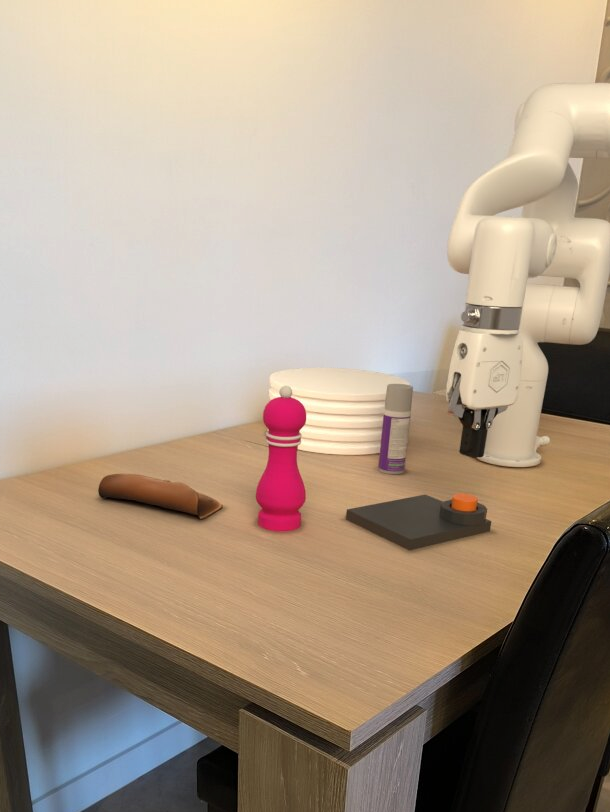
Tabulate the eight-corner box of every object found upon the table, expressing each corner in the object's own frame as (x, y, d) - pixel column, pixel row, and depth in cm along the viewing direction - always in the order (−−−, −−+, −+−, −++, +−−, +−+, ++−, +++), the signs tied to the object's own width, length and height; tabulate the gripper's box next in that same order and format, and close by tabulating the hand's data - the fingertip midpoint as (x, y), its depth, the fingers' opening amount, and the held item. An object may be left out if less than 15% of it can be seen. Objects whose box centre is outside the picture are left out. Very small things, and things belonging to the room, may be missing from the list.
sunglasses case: (226, 502, 127) (216, 472, 121) (206, 536, 123) (194, 506, 118) (129, 483, 134) (115, 453, 128) (107, 515, 130) (92, 485, 125)
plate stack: (287, 415, 185) (289, 363, 180) (412, 428, 179) (418, 374, 174) (250, 445, 160) (252, 385, 156) (393, 461, 154) (400, 399, 149)
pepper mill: (299, 535, 117) (308, 392, 108) (249, 530, 118) (254, 388, 109) (307, 519, 123) (316, 383, 115) (260, 514, 124) (265, 378, 116)
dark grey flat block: (425, 504, 132) (427, 483, 131) (492, 532, 122) (496, 509, 120) (345, 520, 124) (347, 497, 122) (410, 551, 113) (413, 527, 112)
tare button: (463, 503, 123) (465, 492, 122) (481, 510, 120) (483, 499, 120) (446, 507, 121) (447, 495, 121) (463, 514, 119) (465, 502, 118)
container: (375, 466, 151) (383, 383, 144) (401, 467, 151) (410, 383, 145) (381, 474, 146) (389, 388, 140) (406, 474, 147) (416, 389, 140)
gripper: (472, 324, 103) (452, 467, 110) (551, 322, 111) (527, 456, 118) (430, 317, 108) (414, 454, 116) (507, 315, 116) (487, 444, 124)
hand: (471, 455), depth 117 cm, fingers closed
